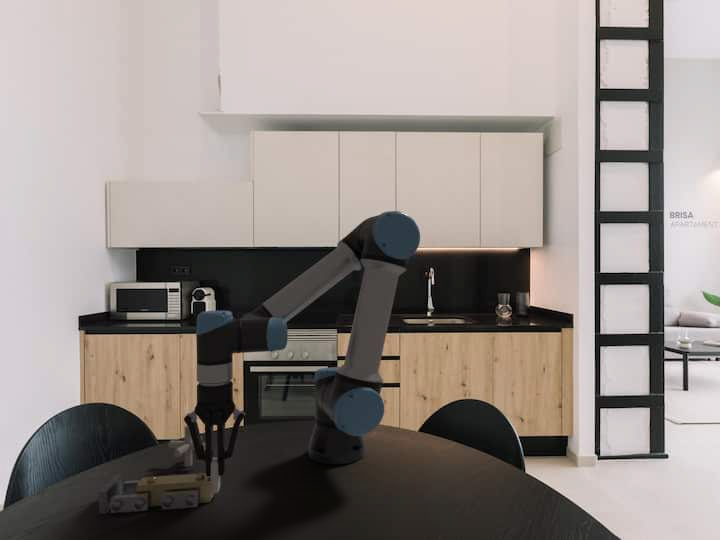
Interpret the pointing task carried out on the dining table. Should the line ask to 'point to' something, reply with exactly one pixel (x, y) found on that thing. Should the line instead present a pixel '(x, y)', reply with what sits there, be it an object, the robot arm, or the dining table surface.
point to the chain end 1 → (122, 497)
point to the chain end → (180, 499)
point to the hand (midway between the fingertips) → (215, 490)
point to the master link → (175, 486)
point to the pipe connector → (184, 447)
